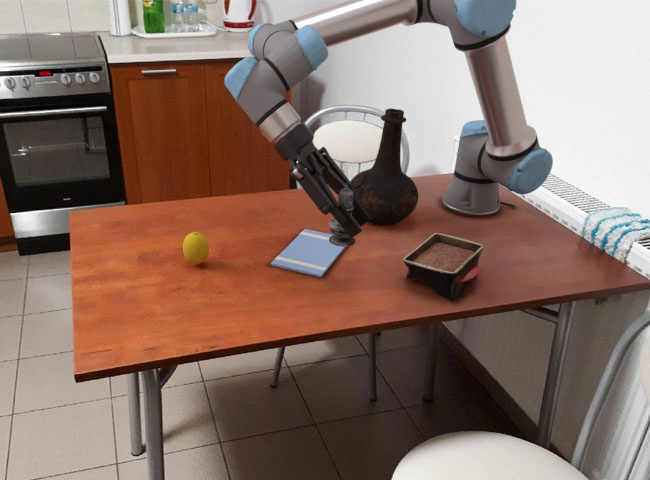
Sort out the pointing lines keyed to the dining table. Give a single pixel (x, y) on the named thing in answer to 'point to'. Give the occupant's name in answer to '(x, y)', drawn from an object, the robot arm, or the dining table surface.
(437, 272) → the baking dish
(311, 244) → the cloth
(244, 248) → the dining table surface
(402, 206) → the glass bottle
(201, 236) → the lemon
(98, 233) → the dining table surface
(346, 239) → the salt shaker
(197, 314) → the dining table surface
